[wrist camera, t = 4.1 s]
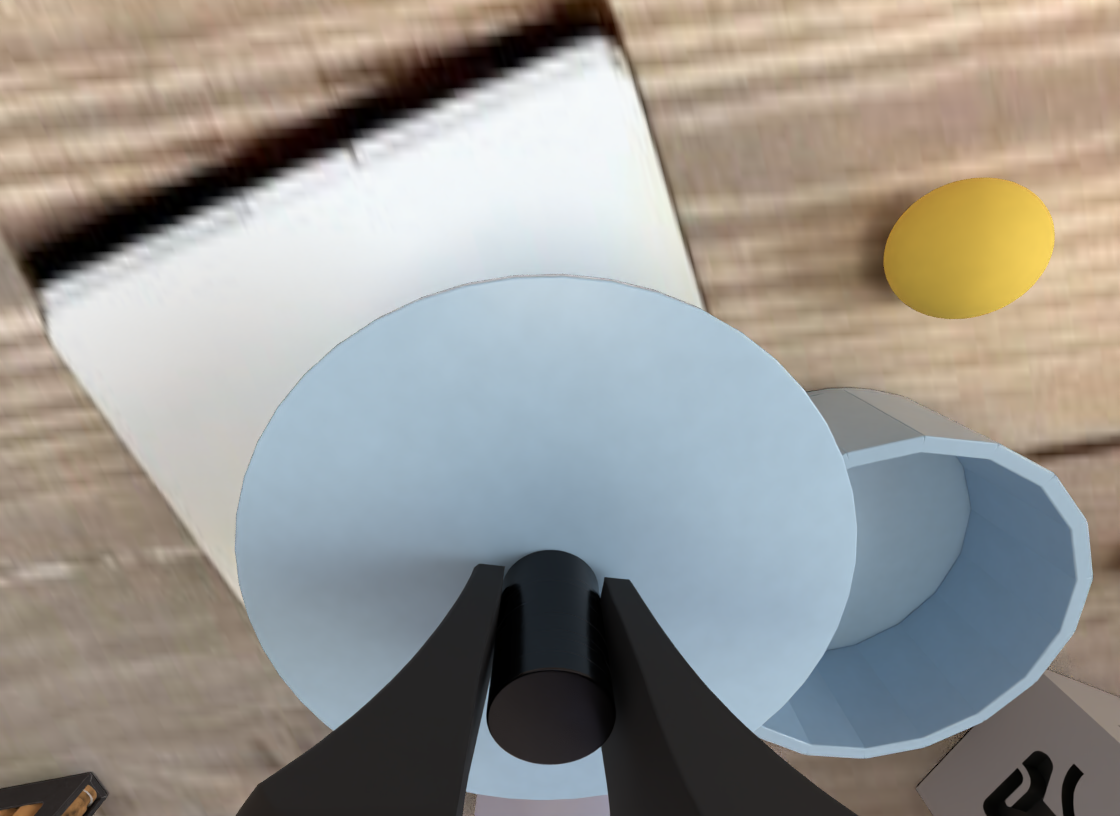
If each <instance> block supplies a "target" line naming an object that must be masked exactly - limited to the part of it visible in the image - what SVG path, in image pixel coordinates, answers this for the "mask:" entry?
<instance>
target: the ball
mask: <svg viewBox="0 0 1120 816" xmlns="http://www.w3.org/2000/svg"><path fill="white" fill-rule="evenodd" d="M1053 247H1054V224H1053V221H1052V217H1051V215H1050V213H1049V211H1048V209H1047V208H1046V206H1045V205H1044V203H1043V202H1042V201H1041V200H1040V199H1039V198H1038V197H1037V196H1036V195H1035V194H1034V193H1033V192H1031V191H1030V190H1028V189H1027V188H1025V187H1023V186H1021V185H1019V184H1016V183H1014V182H1011V181H1007V180H1003V179H997V178H971V179H966V180H960V181H956V182H953V183H950V184H947V185H944V186H942V187H939V188H937V189H935V190H933V191H931V192H930V193H928V194H926V195H925V196H923V197H921V198H920V199H919V200H917V201H916V202H915V203H913V204H912V205H911V206H910V207H909V208H908V209H907V210H906V211H905V212H904V213H903V215H902V216H901V217H900V218H899V219H898V221H897V222H896V224H895V225H894V227H893V229H892V230H891V232H890V235H889V237H888V239H887V242H886V246H885V251H884V271H885V275H886V278H887V281H888V283H889V285H890V287H891V289H892V291H893V292H894V293H895V294H896V295H897V297H898V298H899V299H900V300H901V301H902V302H904V303H905V304H906V305H908V306H909V307H911V308H912V309H914V310H916V311H918V312H920V313H923V314H926V315H928V316H933V317H937V318H945V319H965V318H971V317H976V316H981V315H984V314H988V313H991V312H993V311H996V310H998V309H1000V308H1003V307H1005V306H1006V305H1008V304H1010V303H1012V302H1013V301H1015V300H1016V299H1017V298H1019V297H1020V296H1022V295H1023V294H1024V293H1025V292H1027V291H1028V290H1029V289H1030V288H1031V287H1032V286H1033V285H1034V284H1035V282H1036V281H1037V280H1038V279H1039V277H1040V276H1041V275H1042V273H1043V272H1044V270H1045V269H1046V267H1047V265H1048V263H1049V260H1050V258H1051V255H1052V251H1053Z"/></svg>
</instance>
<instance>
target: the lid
mask: <svg viewBox="0 0 1120 816" xmlns="http://www.w3.org/2000/svg"><path fill="white" fill-rule="evenodd" d="M856 542H857V523H856V514H855V506H854V498H853V491H852V487H851V484H850V480H849V477H848V473H847V470H846V466H845V463H844V459H843V456H842V454H841V452H840V450H839V448H838V446H837V443H836V441H835V439H834V437H833V435H832V433H831V431H830V429H829V426H828V424H827V422H826V421H825V419H824V418H823V416H822V415H821V413H820V412H819V410H818V409H817V408H816V406H815V405H814V403H813V402H812V400H811V399H810V397H809V396H808V394H807V393H806V391H805V390H804V389H803V388H802V387H801V386H800V384H799V383H798V382H797V381H796V380H795V379H794V378H793V377H792V376H791V375H790V374H789V373H788V372H787V371H786V370H785V368H784V367H783V366H782V365H781V364H780V363H779V362H778V361H777V360H776V359H775V358H774V357H772V356H771V355H770V354H768V353H767V352H766V351H765V350H763V349H762V348H761V347H760V346H758V345H757V344H756V343H755V342H753V341H752V340H751V339H749V338H748V337H747V336H746V335H744V334H743V333H742V332H740V331H738V330H737V329H735V328H733V327H731V326H730V325H728V324H726V323H724V322H723V321H721V320H719V319H717V318H716V317H714V316H712V315H710V314H709V313H707V312H705V311H704V310H702V309H700V308H698V307H696V306H694V305H691V304H689V303H686V302H684V301H681V300H679V299H676V298H674V297H671V296H669V295H666V294H664V293H661V292H659V291H656V290H653V289H649V288H644V287H640V286H636V285H632V284H628V283H624V282H620V281H616V280H612V279H605V278H596V277H587V276H577V275H568V274H543V275H513V276H507V277H501V278H495V279H489V280H483V281H477V282H471V283H466V284H463V285H460V286H456V287H453V288H450V289H447V290H443V291H440V292H437V293H434V294H431V295H427V296H424V297H421V298H419V299H417V300H415V301H413V302H411V303H409V304H407V305H404V306H402V307H400V308H398V309H396V310H394V311H392V312H390V313H387V314H385V315H383V316H381V317H379V318H378V319H376V320H374V321H373V322H371V323H370V324H368V325H367V326H365V327H364V328H362V329H361V330H359V331H358V332H356V333H355V334H353V335H351V336H350V337H348V338H347V339H345V340H344V341H342V342H341V343H339V344H338V345H337V346H335V347H334V348H333V349H332V350H331V351H330V352H329V353H328V354H327V355H325V356H324V357H323V358H322V359H321V360H320V361H319V362H318V363H316V364H315V365H314V366H313V367H312V368H311V369H310V370H309V371H308V372H306V373H305V374H304V375H303V377H302V378H301V379H300V380H299V382H298V383H297V384H296V385H295V386H294V388H293V389H292V390H291V391H290V393H289V394H288V395H287V396H286V397H285V399H284V400H283V401H282V402H281V404H280V405H279V406H278V407H277V409H276V411H275V413H274V414H273V416H272V418H271V419H270V421H269V423H268V425H267V426H266V428H265V430H264V431H263V433H262V435H261V437H260V438H259V440H258V442H257V445H256V447H255V450H254V452H253V455H252V458H251V460H250V463H249V465H248V468H247V471H246V473H245V476H244V480H243V485H242V489H241V494H240V499H239V504H238V509H237V514H236V537H235V554H236V562H237V571H238V579H239V585H240V589H241V593H242V596H243V600H244V603H245V607H246V610H247V614H248V617H249V620H250V622H251V624H252V626H253V628H254V631H255V633H256V635H257V637H258V640H259V642H260V644H261V646H262V648H263V650H264V652H265V653H266V655H267V656H268V658H269V659H270V661H271V663H272V664H273V666H274V667H275V669H276V671H277V672H278V674H279V675H280V677H281V678H282V679H283V680H284V682H285V683H286V684H287V685H288V686H289V688H290V689H291V690H292V691H293V693H294V694H295V695H296V696H297V697H298V699H299V700H300V701H301V702H302V703H303V704H304V705H305V706H306V707H307V708H308V709H309V710H310V711H311V712H313V713H314V714H315V715H316V716H317V717H318V718H319V719H320V720H321V721H322V722H323V723H324V724H325V725H327V726H328V727H329V728H331V729H332V730H333V731H334V730H335V729H337V728H338V727H339V726H340V725H342V724H343V723H344V722H345V721H347V720H348V719H349V718H350V717H352V716H353V715H354V714H355V713H356V712H357V711H359V710H360V709H361V708H362V707H363V706H364V705H365V704H367V703H368V702H369V701H370V700H371V699H372V698H373V697H374V696H375V695H376V694H377V693H378V692H379V691H380V690H381V689H383V688H384V687H385V686H386V685H387V684H388V683H389V682H390V681H391V680H392V679H393V678H394V677H395V676H396V675H397V674H398V673H399V672H400V671H401V670H402V668H403V667H404V666H405V665H406V664H407V663H408V662H409V661H410V660H411V659H412V658H413V656H414V655H415V654H416V653H417V652H418V651H419V650H420V648H421V647H422V646H423V645H424V643H425V642H426V641H427V640H428V638H429V637H430V636H431V635H432V633H433V632H434V631H435V630H436V628H437V627H438V626H439V625H440V623H441V622H442V621H443V619H444V618H445V616H446V615H447V613H448V612H449V610H450V609H451V608H452V606H453V605H454V603H455V602H456V600H457V599H458V597H459V595H460V594H461V592H462V591H463V589H464V587H465V585H466V584H467V582H468V580H469V578H470V576H471V574H472V571H473V569H474V567H475V566H477V565H478V564H488V565H498V566H505V570H504V578H503V586H502V594H501V602H500V609H499V617H498V625H497V631H496V639H495V647H494V655H493V663H492V671H491V678H490V682H489V687H488V691H487V696H486V700H485V705H484V709H483V714H482V718H481V723H480V727H479V732H478V736H477V741H476V745H475V750H474V754H473V759H472V763H471V768H470V772H469V777H468V783H467V788H466V792H470V793H474V794H480V795H487V796H494V797H501V798H508V799H529V800H558V799H577V798H585V797H592V796H600V795H607V794H608V791H607V783H606V776H605V769H604V763H603V756H602V750H601V746H602V745H603V744H604V743H605V742H606V740H607V739H608V738H609V736H610V734H611V733H612V730H613V728H614V725H615V720H616V707H615V700H614V693H613V686H612V679H611V672H610V665H609V657H608V650H607V643H606V636H605V629H604V622H603V615H602V608H601V600H600V597H601V592H602V587H603V582H604V577H610V578H619V579H629V580H630V581H631V582H632V584H633V585H634V587H635V588H636V590H637V591H638V593H639V594H640V596H641V598H642V599H643V601H644V602H645V604H646V605H647V607H648V608H649V610H650V611H651V613H652V614H653V616H654V617H655V619H656V620H657V622H658V623H659V625H660V626H661V628H662V629H663V630H664V632H665V633H666V635H667V636H668V637H669V639H670V640H671V641H672V643H673V644H674V646H675V647H676V648H677V650H678V651H679V652H680V654H681V655H682V656H683V658H684V659H685V660H686V661H687V663H688V664H689V665H690V666H691V668H692V669H693V670H694V671H695V672H696V674H697V675H698V676H699V677H700V679H701V680H702V681H703V682H704V683H705V684H706V685H707V687H708V688H709V689H710V690H711V691H712V692H713V693H714V694H715V695H716V696H717V697H718V698H719V699H720V700H721V702H722V703H723V704H724V705H725V706H726V707H727V708H728V709H729V710H730V711H731V712H732V713H733V714H734V715H735V716H736V717H737V718H738V719H739V720H740V721H741V722H742V723H743V724H744V725H745V726H746V727H747V728H749V729H750V730H751V731H752V732H754V731H755V730H756V729H758V728H759V727H760V726H761V725H762V724H764V723H765V722H766V721H767V720H768V719H769V718H770V717H771V716H773V715H774V714H775V713H776V712H777V711H778V710H779V709H780V708H782V707H783V706H784V705H785V703H786V702H787V701H788V700H789V699H790V698H791V697H792V696H793V694H794V693H795V692H796V691H797V690H798V689H799V688H800V687H801V686H802V684H803V683H804V682H805V681H806V679H807V678H808V676H809V675H810V674H811V672H812V671H813V669H814V668H815V666H816V665H817V663H818V662H819V661H820V659H821V658H822V656H823V655H824V653H825V651H826V649H827V647H828V645H829V643H830V641H831V639H832V637H833V635H834V633H835V631H836V630H837V628H838V625H839V623H840V620H841V617H842V614H843V611H844V608H845V606H846V603H847V600H848V597H849V594H850V589H851V583H852V578H853V573H854V568H855V563H856Z"/></svg>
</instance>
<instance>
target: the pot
mask: <svg viewBox="0 0 1120 816" xmlns="http://www.w3.org/2000/svg"><path fill="white" fill-rule="evenodd" d="M806 393H807V394H808V396H809V397H810V399H811V400H812V402H813V403H814V405H815V406H816V408H817V409H818V410H819V412H820V413H821V415H822V416H823V418H824V419H825V421H826V422H827V424H828V426H829V429H830V431H831V433H832V435H833V437H834V439H835V441H836V443H837V446H838V448H839V450H840V452H841V454H842V456H843V459H844V463H845V466H846V470H847V473H848V477H849V480H850V484H851V487H852V491H853V498H854V506H855V514H856V523H857V542H856V563H855V568H854V573H853V578H852V583H851V589H850V594H849V597H848V600H847V603H846V606H845V608H844V611H843V614H842V617H841V620H840V623H839V625H838V628H837V630H836V631H835V633H834V635H833V637H832V639H831V641H830V643H829V645H828V647H827V649H826V651H825V653H824V655H823V656H822V658H821V659H820V661H819V662H818V663H817V665H816V666H815V668H814V669H813V671H812V672H811V674H810V675H809V676H808V678H807V679H806V681H805V682H804V683H803V684H802V686H801V687H800V688H799V689H798V690H797V691H796V692H795V693H794V694H793V696H792V697H791V698H790V699H789V700H788V701H787V702H786V703H785V705H784V706H783V707H782V708H780V709H779V710H778V711H777V712H776V713H775V714H774V715H773V716H771V717H770V718H769V719H768V720H767V721H766V722H765V723H764V724H762V725H761V726H760V727H759V728H758V729H756V730H755V731H754V732H753V733H754V734H755V735H756V736H757V737H758V738H761V739H763V740H766V741H769V742H771V743H774V744H777V745H780V746H782V747H785V748H788V749H790V750H793V751H796V752H798V753H801V754H805V755H813V756H828V757H844V758H859V759H862V758H864V759H866V758H871V757H877V756H882V755H887V754H893V753H898V752H904V751H909V750H914V749H920V748H924V747H927V746H930V745H932V744H934V743H936V742H939V741H941V740H943V739H946V738H948V737H950V736H952V735H955V734H957V733H959V732H962V731H964V730H966V729H968V728H971V727H973V726H975V725H978V724H980V723H982V722H984V721H985V720H987V719H988V718H990V717H991V716H992V715H993V714H995V713H996V712H997V711H999V710H1000V709H1001V708H1003V707H1004V706H1005V705H1007V704H1008V703H1009V702H1011V701H1012V700H1013V699H1015V698H1016V697H1017V696H1019V695H1020V694H1021V693H1023V692H1024V691H1025V690H1027V689H1028V688H1029V687H1031V686H1032V685H1033V684H1034V683H1035V682H1036V681H1038V679H1039V678H1040V677H1041V675H1042V674H1043V673H1044V671H1045V670H1046V669H1047V668H1048V666H1049V665H1050V664H1051V662H1052V661H1053V660H1054V658H1055V657H1056V656H1057V655H1058V653H1059V652H1060V651H1061V649H1062V648H1063V647H1064V646H1065V644H1066V643H1067V642H1068V640H1069V639H1070V638H1071V636H1072V635H1073V633H1074V632H1075V630H1076V627H1077V624H1078V621H1079V618H1080V615H1081V612H1082V609H1083V606H1084V604H1085V601H1086V598H1087V595H1088V592H1089V589H1090V586H1091V583H1092V580H1093V577H1092V576H1093V571H1092V561H1091V551H1090V541H1089V530H1088V523H1087V522H1086V521H1087V520H1086V519H1085V517H1084V516H1083V514H1082V513H1081V511H1080V510H1079V508H1078V507H1077V505H1076V504H1075V502H1074V501H1073V500H1072V498H1071V497H1070V495H1069V494H1068V492H1067V491H1066V489H1065V488H1064V486H1063V485H1062V483H1061V482H1060V480H1059V479H1058V478H1057V476H1056V475H1055V474H1054V473H1053V472H1051V471H1049V470H1048V469H1046V468H1044V467H1042V466H1040V465H1038V464H1036V463H1035V462H1033V461H1031V460H1029V459H1027V458H1025V457H1024V456H1022V455H1020V454H1018V453H1016V452H1014V451H1012V450H1011V449H1009V448H1007V447H1005V446H1003V445H1001V444H999V443H997V442H995V441H993V440H991V439H989V438H987V437H985V436H983V435H981V434H979V433H977V432H975V431H973V430H971V429H969V428H967V427H965V426H963V425H961V424H959V423H957V422H955V421H953V420H951V419H948V418H946V417H944V416H942V415H940V414H938V413H936V412H934V411H932V410H930V409H928V408H926V407H924V406H922V405H920V404H918V403H916V402H914V401H912V400H910V399H908V398H906V397H904V396H901V395H894V394H890V393H886V392H881V391H877V390H872V389H861V388H831V389H823V390H817V391H811V392H806ZM983 720H984V721H983Z"/></svg>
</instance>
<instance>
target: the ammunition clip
mask: <svg viewBox="0 0 1120 816" xmlns="http://www.w3.org/2000/svg"><path fill="white" fill-rule="evenodd" d="M107 796H108V795H107V794H106V793H105V791H104V790H103V789H102V787H101V786H100V784H99V783H98V782H97V780H96V779H95V778H94V776H93V775H92V774H91V773H86V774H80V775H75V776H70V777H64V778H59V779H53V780H48V781H43V782H37V783H32V784H27V785H21V786H16V787H10V788H5V789H0V816H92V815H93V814H94V813H95V811H96V810H97V809H98V808H99V806H100V805H101V804H102V803H103V801H104V800H105V799H106V798H107Z"/></svg>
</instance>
